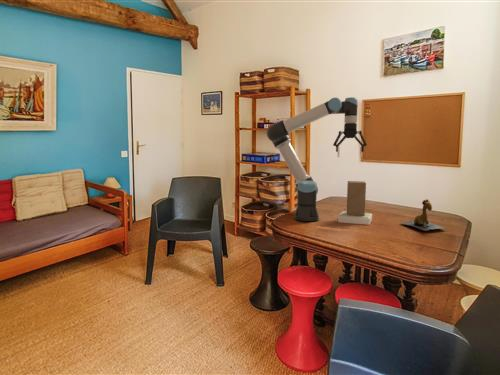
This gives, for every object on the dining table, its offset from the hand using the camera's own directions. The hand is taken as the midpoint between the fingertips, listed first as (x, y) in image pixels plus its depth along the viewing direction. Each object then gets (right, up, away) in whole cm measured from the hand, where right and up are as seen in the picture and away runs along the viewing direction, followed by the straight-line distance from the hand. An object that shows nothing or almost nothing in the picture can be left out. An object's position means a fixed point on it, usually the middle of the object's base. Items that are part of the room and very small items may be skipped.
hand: (349, 157), depth 214 cm
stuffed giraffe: (+36, -42, -19) cm, 58 cm away
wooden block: (+2, -36, -6) cm, 36 cm away
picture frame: (+2, -40, -6) cm, 40 cm away
